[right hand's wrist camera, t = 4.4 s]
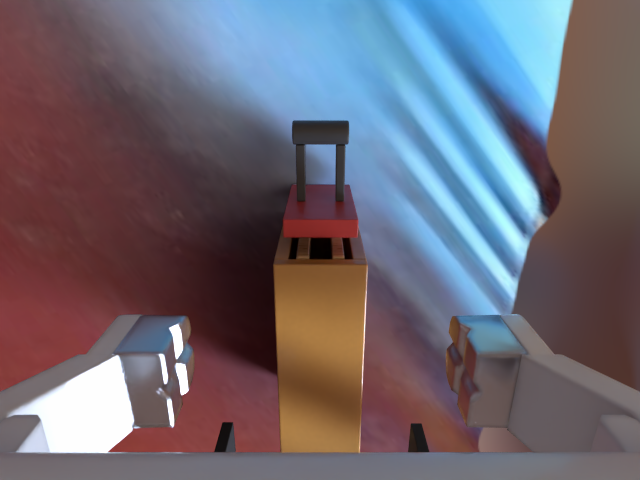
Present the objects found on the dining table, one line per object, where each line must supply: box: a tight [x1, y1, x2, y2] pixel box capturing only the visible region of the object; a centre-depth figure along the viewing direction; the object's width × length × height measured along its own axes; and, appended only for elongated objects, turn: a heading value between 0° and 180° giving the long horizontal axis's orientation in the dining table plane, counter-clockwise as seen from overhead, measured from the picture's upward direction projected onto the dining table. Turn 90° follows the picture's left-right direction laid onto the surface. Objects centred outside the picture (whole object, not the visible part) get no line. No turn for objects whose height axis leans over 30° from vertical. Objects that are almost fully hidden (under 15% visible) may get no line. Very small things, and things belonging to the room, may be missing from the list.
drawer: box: [283, 121, 358, 259], centre depth 33 cm, size 22×5×9 cm, turn 0°
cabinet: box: [273, 226, 368, 452], centre depth 35 cm, size 18×6×11 cm, turn 0°
